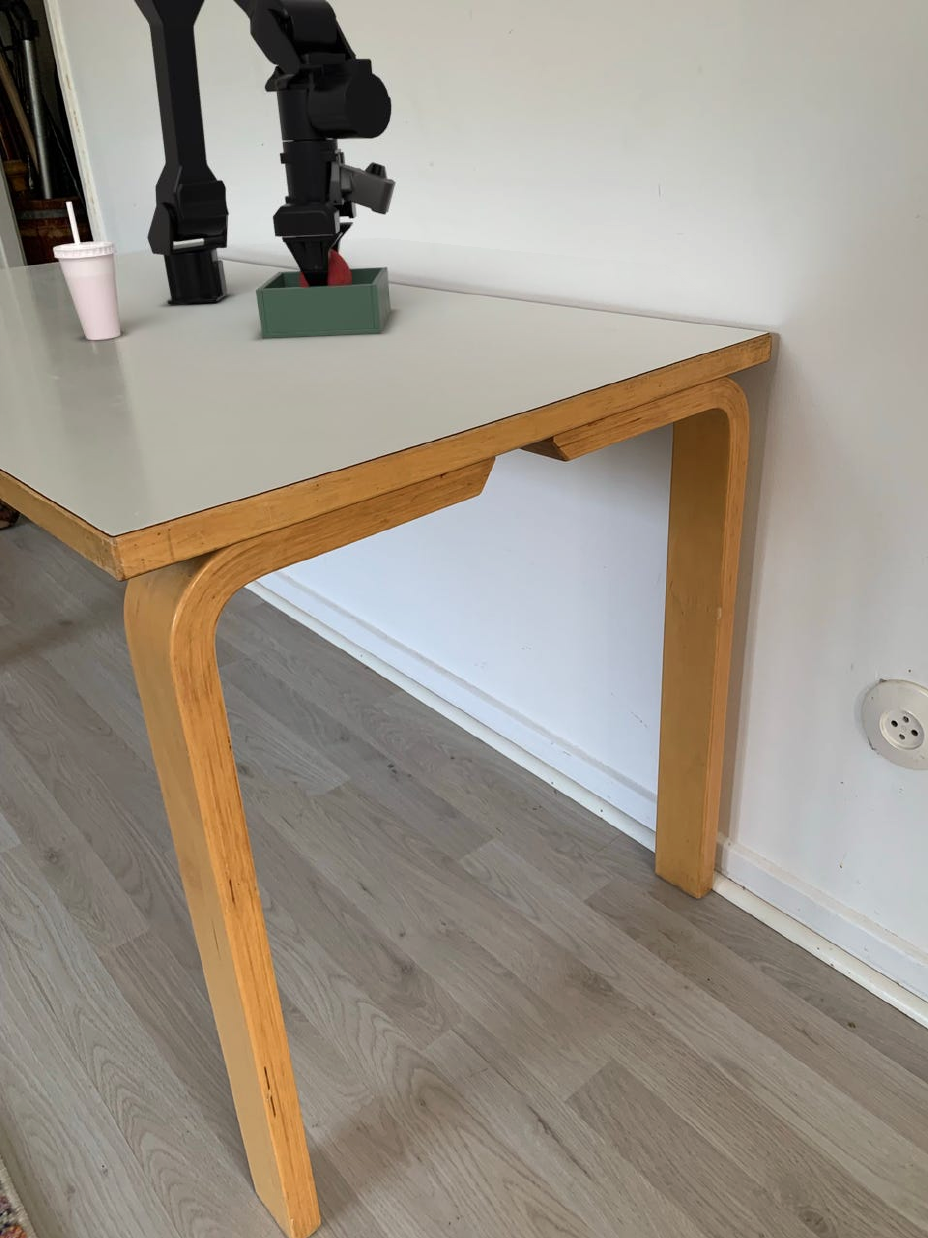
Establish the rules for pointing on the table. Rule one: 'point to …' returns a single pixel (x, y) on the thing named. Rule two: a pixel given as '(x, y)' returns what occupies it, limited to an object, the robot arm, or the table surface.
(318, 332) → the green storage bin
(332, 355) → the table surface
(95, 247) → the smoothie
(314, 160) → the robot arm
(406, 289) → the table surface
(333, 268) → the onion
